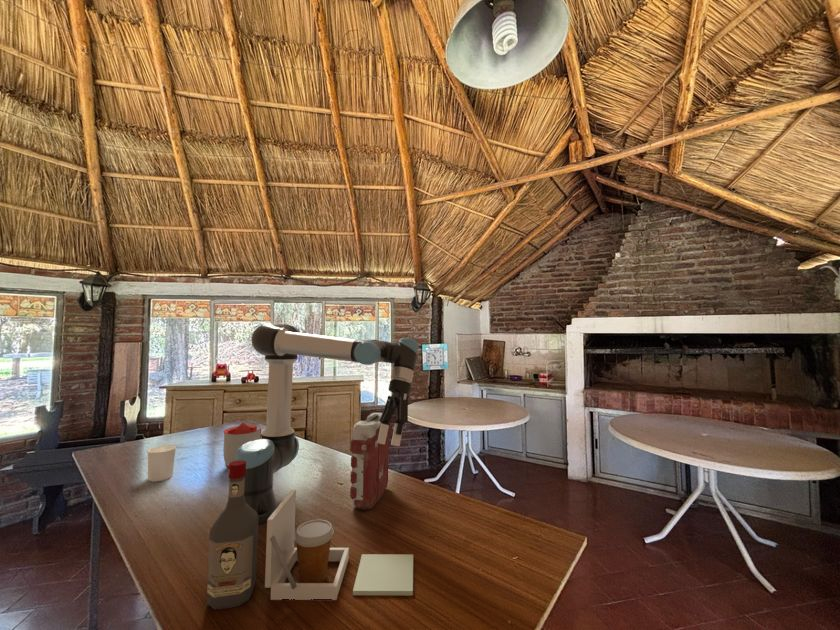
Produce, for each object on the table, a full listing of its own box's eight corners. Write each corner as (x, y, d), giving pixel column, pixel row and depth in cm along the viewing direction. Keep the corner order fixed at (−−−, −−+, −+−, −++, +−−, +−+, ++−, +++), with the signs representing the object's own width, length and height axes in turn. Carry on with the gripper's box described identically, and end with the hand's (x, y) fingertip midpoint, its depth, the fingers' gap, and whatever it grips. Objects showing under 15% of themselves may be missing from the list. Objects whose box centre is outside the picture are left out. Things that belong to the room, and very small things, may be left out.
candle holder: (140, 480, 147) (141, 450, 148) (164, 472, 156) (166, 444, 157) (155, 484, 143) (157, 453, 144) (179, 475, 152) (181, 446, 153)
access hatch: (263, 602, 80) (266, 520, 81) (289, 557, 97) (291, 489, 98) (335, 602, 80) (337, 520, 82) (349, 558, 97) (350, 490, 98)
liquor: (216, 584, 86) (222, 457, 88) (257, 579, 88) (262, 455, 90) (203, 613, 77) (209, 471, 79) (248, 606, 79) (254, 468, 81)
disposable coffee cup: (298, 566, 93) (299, 519, 94) (335, 564, 94) (336, 517, 95) (287, 592, 84) (289, 539, 84) (329, 590, 84) (330, 538, 85)
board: (352, 595, 83) (352, 590, 83) (361, 558, 97) (361, 554, 97) (412, 595, 83) (412, 590, 83) (413, 558, 97) (413, 554, 97)
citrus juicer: (268, 466, 164) (270, 422, 166) (228, 476, 152) (230, 428, 154) (256, 457, 176) (258, 416, 177) (217, 466, 163) (219, 422, 165)
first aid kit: (371, 514, 121) (373, 424, 123) (348, 511, 122) (350, 423, 124) (390, 486, 143) (391, 411, 145) (370, 484, 145) (372, 410, 147)
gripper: (425, 380, 115) (413, 449, 107) (397, 387, 137) (385, 445, 129) (404, 374, 113) (390, 444, 105) (379, 382, 134) (365, 440, 126)
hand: (387, 444), depth 117 cm, fingers open, 13 cm apart
